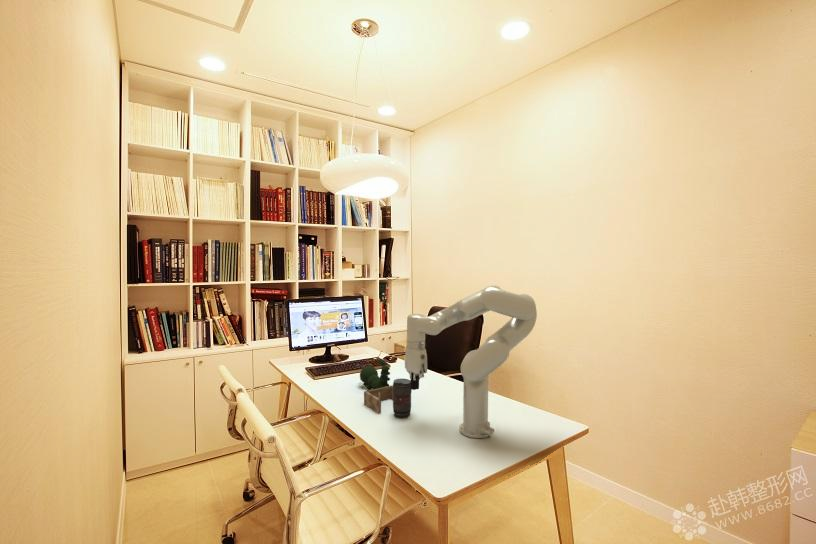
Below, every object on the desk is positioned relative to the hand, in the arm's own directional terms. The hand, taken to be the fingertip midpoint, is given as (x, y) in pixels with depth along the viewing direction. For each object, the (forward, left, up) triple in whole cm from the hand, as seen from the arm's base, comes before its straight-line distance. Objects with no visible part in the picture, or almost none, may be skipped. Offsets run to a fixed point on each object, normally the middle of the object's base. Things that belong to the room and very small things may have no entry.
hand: (414, 388), depth 153 cm
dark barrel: (+10, 0, -15) cm, 17 cm away
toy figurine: (+45, -6, -15) cm, 47 cm away
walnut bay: (+23, 0, -14) cm, 27 cm away
